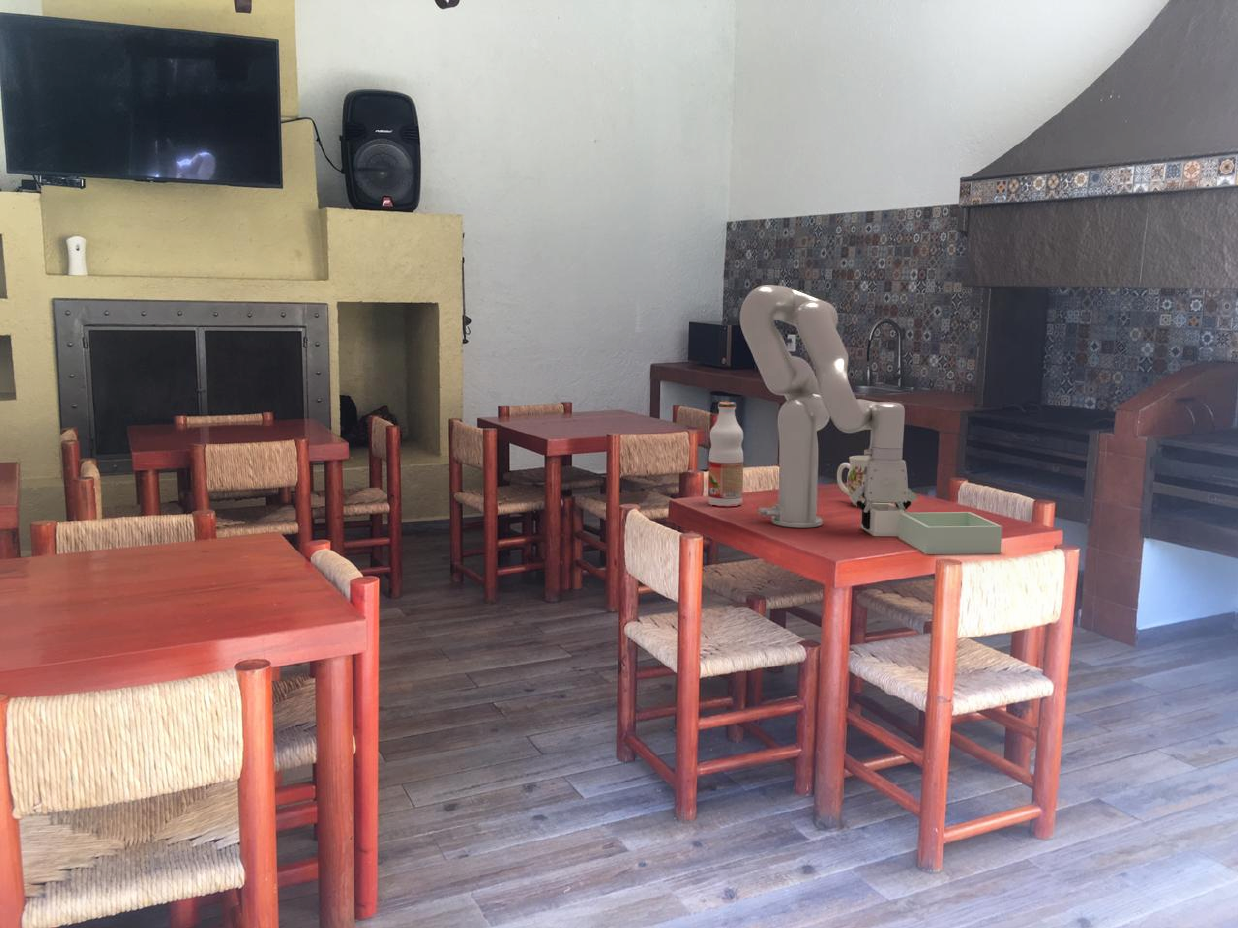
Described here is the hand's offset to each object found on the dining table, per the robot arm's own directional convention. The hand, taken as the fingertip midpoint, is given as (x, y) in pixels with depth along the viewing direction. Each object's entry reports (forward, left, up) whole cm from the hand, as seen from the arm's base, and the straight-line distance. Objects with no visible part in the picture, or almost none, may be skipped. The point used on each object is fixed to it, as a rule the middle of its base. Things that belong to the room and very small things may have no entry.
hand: (881, 527), depth 256 cm
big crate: (+10, -15, -1) cm, 18 cm away
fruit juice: (-31, +39, -1) cm, 50 cm away
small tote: (0, 0, -1) cm, 1 cm away
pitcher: (+7, +36, -1) cm, 37 cm away
